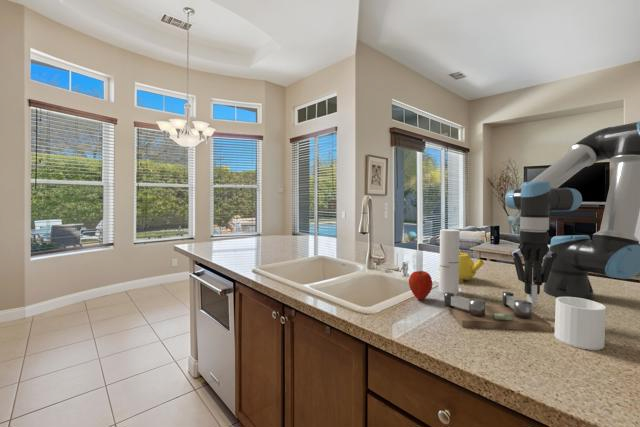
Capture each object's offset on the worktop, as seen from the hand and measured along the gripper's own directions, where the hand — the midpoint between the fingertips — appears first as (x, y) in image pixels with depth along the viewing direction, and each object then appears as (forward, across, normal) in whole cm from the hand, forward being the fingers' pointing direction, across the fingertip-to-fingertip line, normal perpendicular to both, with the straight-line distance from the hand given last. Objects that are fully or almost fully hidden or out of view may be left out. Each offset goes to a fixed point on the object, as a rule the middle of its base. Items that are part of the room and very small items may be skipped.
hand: (531, 303), depth 97 cm
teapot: (+4, +8, -42) cm, 42 cm away
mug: (+4, -3, +16) cm, 17 cm away
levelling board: (+4, +13, +4) cm, 14 cm away
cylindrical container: (+4, +19, -22) cm, 30 cm away
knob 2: (+1, +6, +2) cm, 7 cm away
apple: (+4, +32, -12) cm, 35 cm away
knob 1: (+2, +22, +4) cm, 22 cm away
